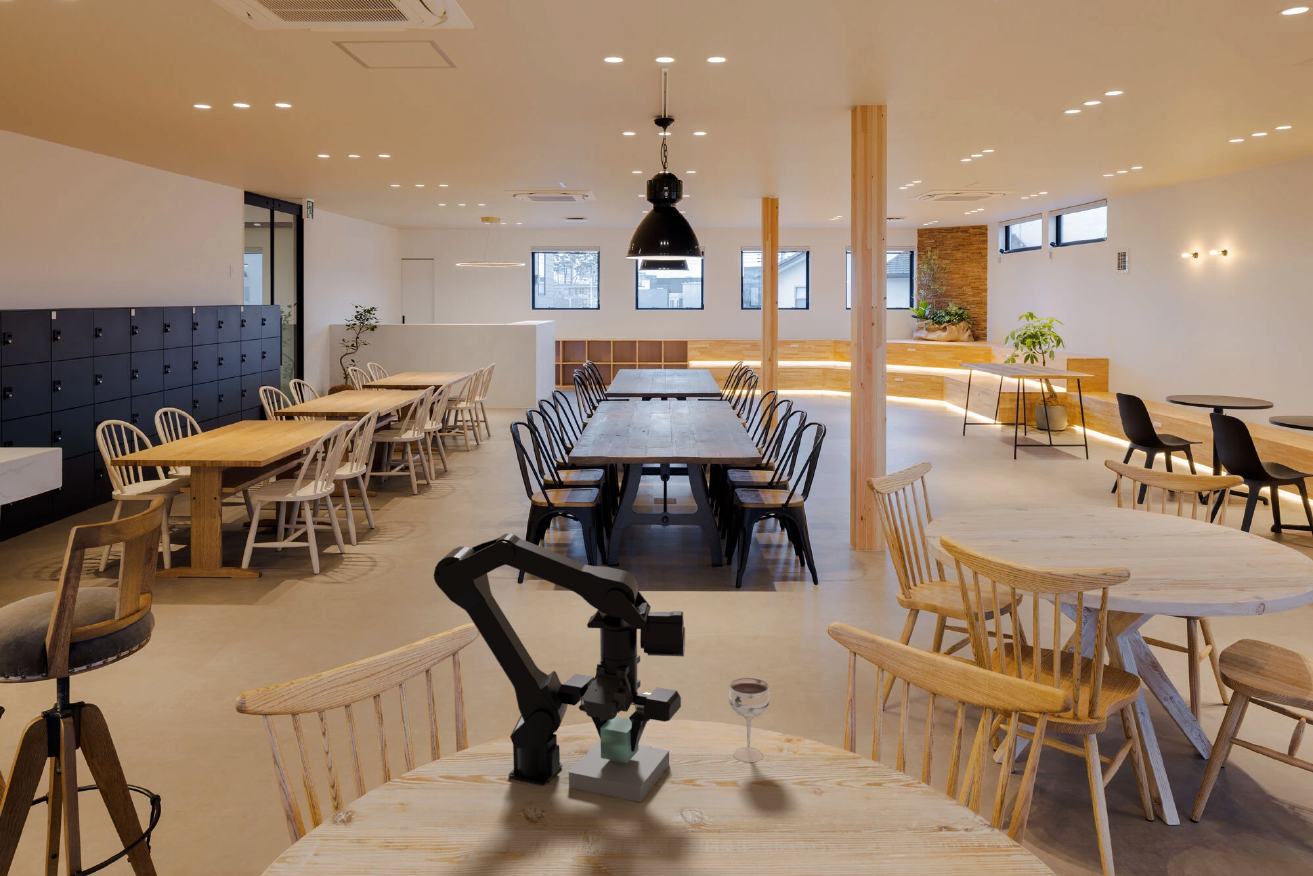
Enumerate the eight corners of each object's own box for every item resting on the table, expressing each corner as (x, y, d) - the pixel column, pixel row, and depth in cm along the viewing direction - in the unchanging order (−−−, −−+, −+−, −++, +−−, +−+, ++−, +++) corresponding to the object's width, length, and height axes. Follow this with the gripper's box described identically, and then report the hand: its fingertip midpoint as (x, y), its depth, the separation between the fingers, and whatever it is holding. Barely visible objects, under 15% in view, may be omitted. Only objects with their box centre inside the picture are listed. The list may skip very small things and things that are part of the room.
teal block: (600, 758, 141) (600, 727, 141) (612, 745, 146) (612, 715, 145) (627, 763, 140) (626, 732, 139) (638, 750, 144) (638, 720, 143)
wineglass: (722, 760, 148) (723, 690, 146) (734, 741, 154) (735, 674, 152) (762, 768, 145) (763, 697, 144) (773, 749, 152) (774, 681, 150)
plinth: (569, 787, 140) (568, 772, 140) (602, 751, 151) (601, 737, 151) (640, 802, 135) (640, 787, 135) (669, 765, 146) (669, 750, 146)
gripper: (540, 663, 136) (542, 761, 139) (655, 682, 129) (655, 784, 132) (574, 638, 146) (575, 729, 149) (682, 654, 140) (681, 749, 142)
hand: (619, 748), depth 142 cm, fingers closed on teal block, 4 cm apart
